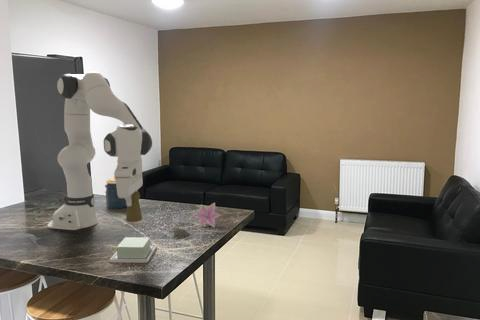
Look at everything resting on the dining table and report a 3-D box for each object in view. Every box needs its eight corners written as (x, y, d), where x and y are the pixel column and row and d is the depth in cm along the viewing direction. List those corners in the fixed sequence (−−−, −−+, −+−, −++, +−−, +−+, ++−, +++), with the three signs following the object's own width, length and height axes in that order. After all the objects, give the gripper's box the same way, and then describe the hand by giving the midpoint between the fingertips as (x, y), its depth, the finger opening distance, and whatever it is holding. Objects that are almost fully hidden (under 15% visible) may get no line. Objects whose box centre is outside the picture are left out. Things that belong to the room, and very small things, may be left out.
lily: (190, 226, 187) (190, 212, 181) (203, 211, 196) (204, 197, 190) (211, 236, 183) (212, 223, 177) (223, 221, 192) (225, 207, 186)
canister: (126, 209, 212) (124, 177, 209) (102, 209, 212) (100, 177, 209) (133, 202, 224) (131, 172, 221) (110, 202, 225) (109, 172, 222)
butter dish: (110, 262, 145) (109, 249, 144) (122, 247, 158) (121, 235, 158) (147, 262, 144) (147, 249, 143) (156, 247, 158) (156, 235, 157)
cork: (127, 217, 152) (125, 190, 150) (143, 216, 152) (141, 189, 151) (124, 222, 146) (123, 193, 144) (141, 221, 147) (140, 193, 145)
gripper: (130, 162, 156) (131, 196, 158) (112, 173, 136) (114, 211, 138) (145, 163, 156) (147, 196, 158) (130, 173, 136) (132, 211, 138)
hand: (131, 203), depth 148 cm, fingers closed on cork, 4 cm apart
